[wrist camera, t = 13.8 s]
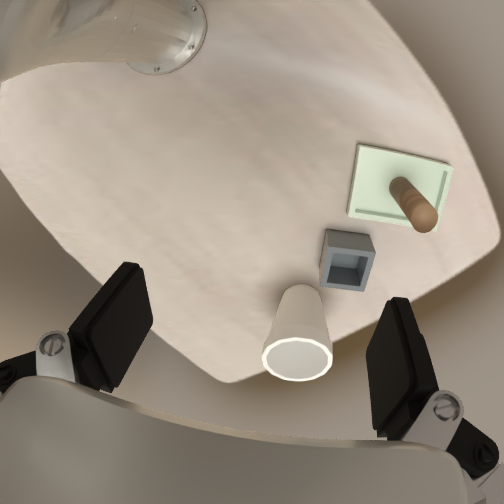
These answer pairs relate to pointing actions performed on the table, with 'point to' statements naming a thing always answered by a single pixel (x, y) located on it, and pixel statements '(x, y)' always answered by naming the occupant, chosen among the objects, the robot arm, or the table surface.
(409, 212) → the dowel
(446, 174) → the tray
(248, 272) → the table surface
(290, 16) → the table surface
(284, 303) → the foam cup
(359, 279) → the pen cup
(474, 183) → the table surface
